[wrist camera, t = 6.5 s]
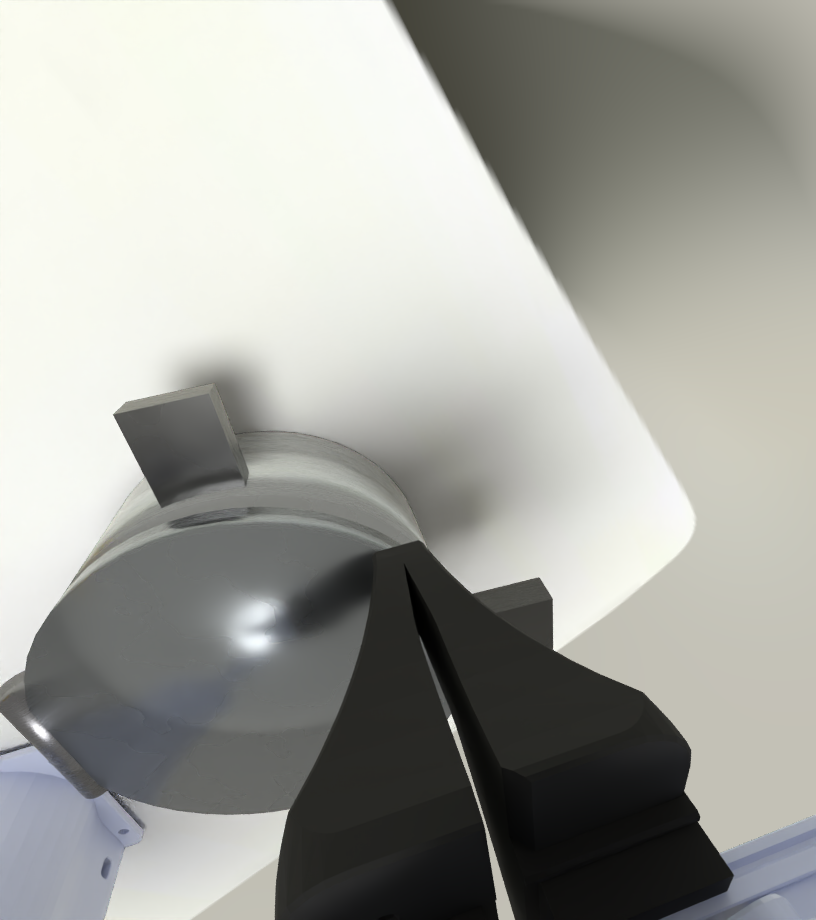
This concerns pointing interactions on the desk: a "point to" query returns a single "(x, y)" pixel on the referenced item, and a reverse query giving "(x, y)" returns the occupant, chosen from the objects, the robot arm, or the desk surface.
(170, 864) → the desk surface
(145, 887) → the desk surface
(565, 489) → the desk surface
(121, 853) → the robot arm
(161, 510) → the pot
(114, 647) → the lid
